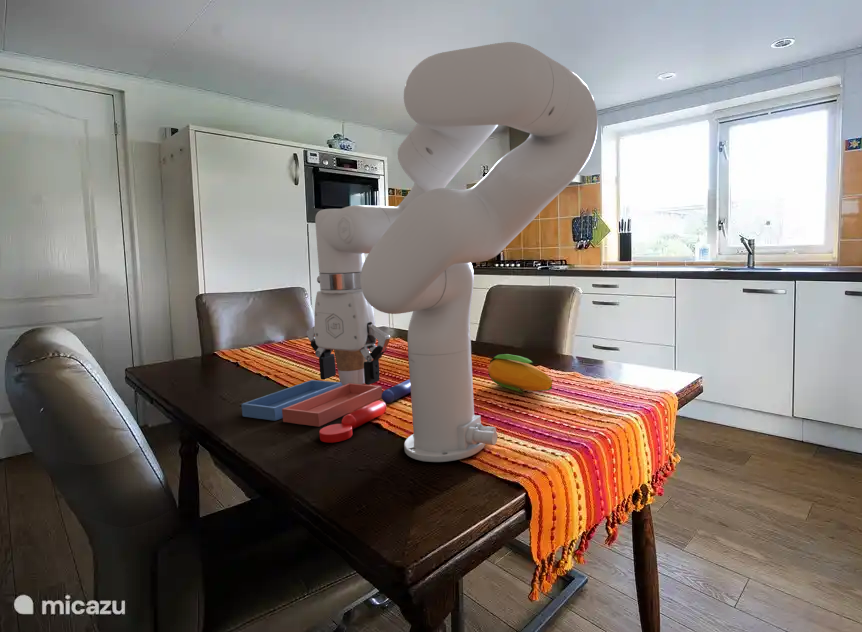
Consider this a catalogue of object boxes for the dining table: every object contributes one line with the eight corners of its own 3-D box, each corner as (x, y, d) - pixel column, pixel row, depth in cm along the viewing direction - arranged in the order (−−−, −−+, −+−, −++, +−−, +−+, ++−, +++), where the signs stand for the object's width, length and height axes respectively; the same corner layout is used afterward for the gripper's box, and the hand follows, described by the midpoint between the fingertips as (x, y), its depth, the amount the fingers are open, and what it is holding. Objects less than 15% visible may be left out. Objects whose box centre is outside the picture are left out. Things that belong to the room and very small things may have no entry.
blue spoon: (395, 405, 101) (394, 392, 101) (374, 403, 103) (373, 390, 103) (436, 385, 115) (435, 373, 115) (417, 383, 117) (416, 371, 117)
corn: (504, 346, 117) (565, 359, 102) (507, 377, 119) (568, 395, 103) (478, 353, 113) (537, 368, 97) (481, 386, 114) (540, 405, 99)
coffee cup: (365, 387, 116) (360, 322, 114) (329, 388, 116) (323, 323, 114) (376, 377, 124) (371, 316, 122) (341, 378, 124) (336, 318, 122)
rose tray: (382, 397, 107) (381, 386, 107) (319, 426, 91) (317, 413, 90) (350, 394, 111) (349, 383, 110) (283, 421, 94) (281, 408, 94)
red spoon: (373, 411, 98) (371, 397, 98) (395, 413, 96) (394, 399, 96) (313, 440, 84) (311, 424, 84) (337, 444, 82) (336, 427, 82)
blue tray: (343, 393, 111) (342, 382, 111) (275, 420, 95) (274, 408, 95) (312, 390, 115) (311, 379, 115) (242, 416, 98) (241, 403, 98)
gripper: (288, 283, 87) (296, 381, 89) (370, 286, 80) (376, 391, 82) (320, 280, 93) (327, 370, 96) (398, 281, 87) (403, 379, 89)
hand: (349, 380), depth 89 cm, fingers open, 9 cm apart
